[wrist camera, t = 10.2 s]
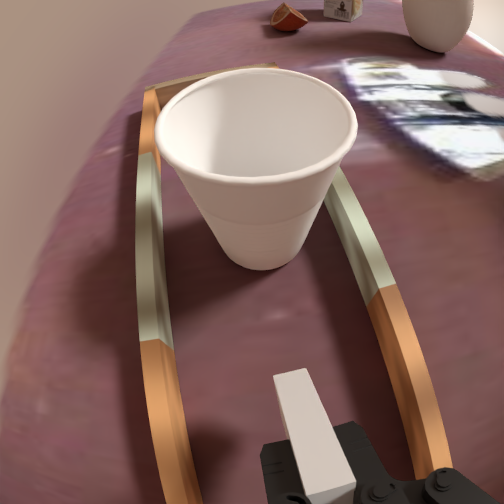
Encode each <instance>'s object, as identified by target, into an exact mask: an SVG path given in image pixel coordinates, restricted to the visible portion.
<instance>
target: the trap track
mask: <svg viewBox="0 0 504 504" xmlns="http://www.w3.org/2000/svg"><path fill="white" fill-rule="evenodd" d="M249 68H275V69H279V68H278V66H277V65H276V63H275V62H274V63H265V64H257V65H250V66H243V67H236V68H230V69H224V70H218V71H213V72H208V73H202V74H198V75H193V76H188V77H184V78H179V79H175V80H171V81H167V82H163V83H159V84H155V85H152V86H148V87H145V94H144V102H143V111H142V120H141V130H140V141H139V154H138V169H137V189H136V226H135V254H136V291H137V310H138V325H139V338H140V350H141V360H142V369H143V378H144V386H145V394H146V401H147V408H148V415H149V421H150V427H151V433H152V439H153V444H154V450H155V455H156V460H157V465H158V469H159V474H160V479H161V483H162V487H163V492H164V496H165V500H166V504H203V501H202V497H201V493H200V488H199V484H198V480H197V476H196V471H195V467H194V462H193V458H192V453H191V448H190V443H189V438H188V433H187V428H186V423H185V417H184V412H183V406H182V400H181V394H180V388H179V381H178V375H177V368H176V361H175V354H174V346H173V338H172V330H171V322H170V313H169V303H168V293H167V282H166V270H165V257H164V242H163V225H162V202H161V160H160V153H159V151H158V149H157V146H156V144H155V139H154V128H155V124H156V120H157V117H158V116H159V114H160V112H161V109H163V107H164V106H165V105H166V104H167V103H168V102H169V101H170V100H171V99H172V98H173V97H174V96H175V95H177V94H178V93H179V92H180V91H182V90H183V89H185V88H187V87H188V86H190V85H192V84H194V83H195V82H198V81H200V80H202V79H205V78H207V77H210V76H213V75H216V74H220V73H223V72H228V71H233V70H239V69H249ZM323 200H324V203H325V205H326V207H327V210H328V212H329V214H330V216H331V219H332V221H333V223H334V226H335V228H336V231H337V233H338V235H339V238H340V240H341V243H342V245H343V247H344V250H345V252H346V255H347V257H348V260H349V262H350V265H351V268H352V270H353V273H354V275H355V278H356V280H357V283H358V286H359V288H360V291H361V294H362V296H363V299H364V302H365V305H366V307H367V310H368V313H369V316H370V319H371V322H372V324H373V327H374V330H375V333H376V336H377V339H378V342H379V345H380V348H381V351H382V354H383V357H384V361H385V364H386V367H387V370H388V373H389V377H390V380H391V383H392V387H393V390H394V394H395V397H396V401H397V404H398V408H399V411H400V415H401V419H402V422H403V426H404V430H405V434H406V438H407V442H408V446H409V450H410V455H411V459H412V463H413V468H414V472H415V477H416V480H419V479H425V478H427V477H428V476H429V474H430V473H431V472H433V471H435V470H436V469H439V468H444V467H447V468H453V467H452V462H451V457H450V452H449V448H448V443H447V439H446V434H445V430H444V426H443V422H442V418H441V415H440V411H439V407H438V403H437V400H436V396H435V393H434V389H433V386H432V383H431V380H430V376H429V373H428V370H427V367H426V364H425V361H424V358H423V355H422V352H421V349H420V346H419V343H418V340H417V337H416V334H415V332H414V329H413V326H412V323H411V321H410V318H409V315H408V313H407V310H406V308H405V305H404V302H403V300H402V297H401V295H400V292H399V290H398V287H397V285H396V283H395V280H394V278H393V275H392V273H391V271H390V268H389V266H388V264H387V262H386V259H385V257H384V255H383V253H382V250H381V248H380V246H379V244H378V242H377V239H376V237H375V235H374V233H373V231H372V229H371V227H370V225H369V223H368V220H367V218H366V216H365V214H364V212H363V210H362V208H361V206H360V204H359V202H358V200H357V198H356V196H355V195H354V193H353V191H352V189H351V187H350V185H349V183H348V181H347V179H346V177H345V176H344V174H343V172H342V170H341V168H340V166H339V167H338V169H337V171H336V174H335V176H334V178H333V180H332V182H331V185H330V187H329V189H328V191H327V193H326V195H325V198H324V199H323Z"/></svg>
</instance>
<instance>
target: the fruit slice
mask: <svg viewBox="0 0 504 504" xmlns="http://www.w3.org/2000/svg"><path fill="white" fill-rule="evenodd" d="M307 23H308V20H307V19H306V18H305V17H304V16H303V15H302V14H301V13H299V12H298V11H296V10H295V9H293V8H292V7H290V6H289V5H287V4H285V3H282V4H281V5H280V6H279V7H278V8H277V9H276V10H275V12H274V13H273V16H272V18H271V21H270V25H271V26H272V27H274V28H275V29H278V30H280V31H293V30H296V29H299V28H301V27H303V26H304V25H305V24H307Z"/></svg>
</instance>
